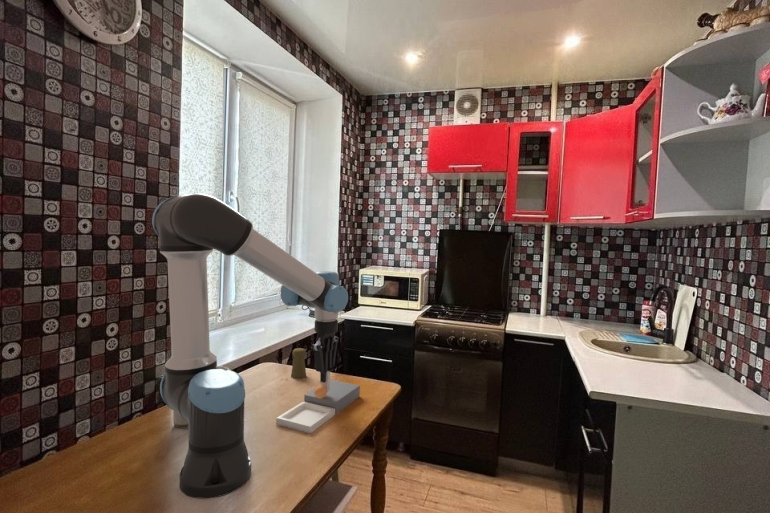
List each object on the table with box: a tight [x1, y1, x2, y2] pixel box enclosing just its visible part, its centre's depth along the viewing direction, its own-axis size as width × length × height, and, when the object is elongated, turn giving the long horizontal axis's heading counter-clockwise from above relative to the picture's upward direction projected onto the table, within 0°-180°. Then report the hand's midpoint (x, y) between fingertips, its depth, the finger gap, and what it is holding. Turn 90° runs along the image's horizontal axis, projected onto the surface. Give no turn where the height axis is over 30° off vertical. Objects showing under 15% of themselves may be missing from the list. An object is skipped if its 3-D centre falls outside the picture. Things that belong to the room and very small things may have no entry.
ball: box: [314, 385, 327, 399], centre depth 129 cm, size 4×4×4 cm
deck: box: [303, 379, 361, 415], centre depth 136 cm, size 16×12×4 cm
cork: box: [290, 347, 307, 380], centre depth 160 cm, size 6×6×11 cm
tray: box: [275, 400, 336, 434], centre depth 122 cm, size 14×12×2 cm
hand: (325, 390), depth 131 cm, fingers closed
